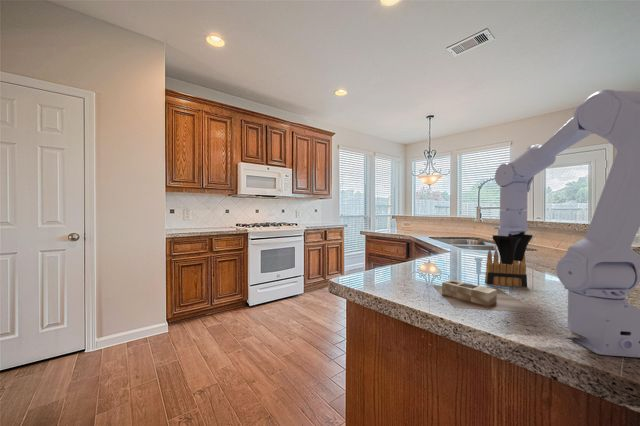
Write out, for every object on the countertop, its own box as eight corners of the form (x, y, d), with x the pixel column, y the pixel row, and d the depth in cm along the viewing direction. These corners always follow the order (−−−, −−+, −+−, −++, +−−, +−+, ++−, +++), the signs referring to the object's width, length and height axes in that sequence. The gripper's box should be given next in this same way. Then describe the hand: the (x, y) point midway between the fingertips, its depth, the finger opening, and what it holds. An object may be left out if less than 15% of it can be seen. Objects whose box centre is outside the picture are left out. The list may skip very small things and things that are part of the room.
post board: (541, 319, 57) (542, 296, 57) (454, 314, 59) (454, 292, 59) (497, 293, 75) (497, 276, 75) (431, 290, 77) (432, 273, 77)
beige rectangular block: (496, 301, 63) (496, 289, 63) (488, 306, 60) (488, 293, 60) (451, 290, 72) (451, 279, 72) (442, 293, 69) (442, 282, 69)
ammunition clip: (486, 289, 79) (487, 249, 79) (484, 287, 81) (485, 249, 81) (527, 292, 76) (528, 251, 76) (524, 290, 78) (524, 250, 78)
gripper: (505, 210, 75) (504, 257, 75) (484, 210, 66) (483, 262, 66) (536, 210, 69) (535, 261, 69) (517, 210, 61) (517, 267, 61)
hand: (512, 262), depth 68 cm, fingers open, 7 cm apart
